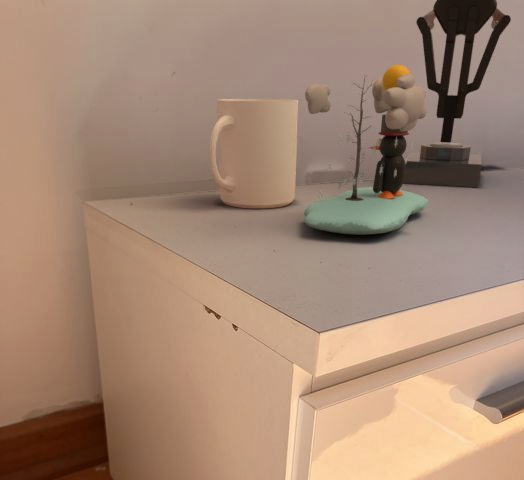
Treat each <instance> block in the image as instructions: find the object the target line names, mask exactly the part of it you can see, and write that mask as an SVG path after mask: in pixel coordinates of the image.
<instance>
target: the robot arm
mask: <svg viewBox="0 0 524 480" xmlns="http://www.w3.org/2000/svg"><path fill="white" fill-rule="evenodd" d="M491 17H492V21H491V24H490V27H491V29H493V30H492V31H491V33H490V36H489V39H488V41H487V43H486V46H485V49H484V51H483V54H482V57H481V59H480V62H479V64H478V67H477V70H476V72H475V75H474V77H473V80H472V82H470V83H469V77H470V70H471V63H472V56H473V50H474V42H475V37H476V35H477V34H478V33H479V32H480V31H482V29H483V27H484V26H485V25H486V23H487V22H488V21H489V20H490V19H491ZM435 19H437V21H438V23H439V25H440V27H441V29H442V31H443V32H444V34H445V36H446V37H445V45H444V53H443V60H442V68H441V75H440V83H439V82H438V81H437V71H436V63H435V62H436V61H435V52H434V51H435V50H434V41H433V33H432V30H434V28H435ZM511 21H512V18H511V16H510V15H509V14H505V13H503V12H502V11H501V10H500V9H499V8H498V1H497V0H436V1H435V3H434V4H433V8H432V10H430V11H429V12H428V13H426V14H425V15H424V16H419V17H418V18H416V21H415V23H416V25H417V27H418V29H419V32H420V34H421V37H422V46H423V56H424V57H423V58H424V66H425V75H426V84H427V85H426V86H427V89H428V90H429V91H432V92H434V93H436V94H437V95H438V99H437V107H436V118H437V119H443V120H442V126H441V127H442V128H441V133H440V134H441V135H440V141H439V142H447V143H451V142H452V140H453V139H452V138H453V132H454V125H455V119H457V120H458V119H459V120H460V119H462V117H463V116H464V111H465V103H466V97H467V95H468V94H470V93H472V92H475V91H478V90H479V89H480V88H481V85H482V82H483V80H484V77H485V75H486V73H487V71H488V70H487V69H488V67H489V64H490V62H491V60H492V57H493V54H494V53H495V52H494V51H495V49H496V47H497V44H498V42H499V39H500V37H501V35H502V34H503V32H505V30H506V28H507V27H508V26H509V24H510V23H511ZM461 35H462V36H464V43H463V50H462V58H461V65H460V71H459V80H458V86H457V94H453V95H452V94H449V90H450V84H451V83H450V82H451V75H452V69H453V62H454V54H455V48H456V40H457V37H458V36H461Z"/></svg>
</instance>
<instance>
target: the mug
mask: <svg viewBox="0 0 524 480" xmlns="http://www.w3.org/2000/svg"><path fill="white" fill-rule="evenodd" d="M216 114H217V117H216V119H217V121H216V123H215V124H214V126H213V127H212V131H211V134H210V137H209V138H210V139H209V146H208V148H209V149H208V159H209V162H208V163H209V167H210V173H211V176H212V179H213V181H214V182H215V184H216V185H217V187H218V191H219V192H218V193H219V199H220V200H221V202H222V203H224V204H225V205H227V206H230V207H234V208H235V207H236V208H239V209H240V208H241V209H255V210H256V209H259V210H260V209H276V208H282V207H285V206H288V205H290V204H292V203H293V201H294V200H295V196H296V195H295V194H296V179H297V178H296V177H297V174H296V173H297V148H298V147H297V146H298V120H299V119H298V116H299V100H298V99H279V98H277V99H276V98H222V99H221V98H220V99H216ZM216 149H217V150H216ZM216 151H217V153H218V154H217V155H216ZM217 156H218V157H217ZM217 159H218V162H217ZM217 163H218V166H217Z"/></svg>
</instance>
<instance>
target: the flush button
mask: <svg viewBox="0 0 524 480" xmlns="http://www.w3.org/2000/svg"><path fill="white" fill-rule="evenodd" d="M430 143H431V146H436V147H461V145H462V143H460V142H452V141H451V143H447V142H440V141H433V142H430Z"/></svg>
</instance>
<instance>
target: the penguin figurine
mask: <svg viewBox="0 0 524 480" xmlns="http://www.w3.org/2000/svg"><path fill="white" fill-rule="evenodd" d="M367 77H368V75H365V77H364V78H363V84H362V85H363V87H361V86H360V84H358V83H357V84H356V83H354V82H350V83H353V85H356V86H357V87H358V88H359V89H362V91H361V94H360V96H361V97H360V107H358V108H356V107H355V106H353V105H348V107H352V108H355V109H356V111H359V112H360V113H359V122H358V121H357V120H355V118H354V116H353V114H352V113H350V114H349V113H347V115H350V116H351V120H352V127H353V129H354V133H355V135H356V142H355V141H354V139H353V138H351V134H350V133H349V131H348V132H347V133H346V135H345V136H346V139H345V141H346V143H347V144H349V141H351V143H352V144H356V156H355V157H356V159H355V170H354V174H353V172H352V171H347V172H348V173H350V174H351V175H352V177H353V178H352V183H351V185H352V188H351V189H349V190H346V191H344V192H343V193H341V194H340V195H338V196H337V195H336V196H330V197H326V198H325V197H324V198H321V199H320V197H322V191H323V190H321V189H320V190H318V194H317V195H318V196H317V197H318V198H319V199H318V200H315V201H313V202H311V203H310V204H309V205H307V207H306V208H305V209H304V212H303V214H304V217H305V218H304V219H303V221H304V224H305V225H306V226H308V227H309V228H312V229H316V230H319V231H324V232H328V233H329V232H330V233H334V234H335V233H336V234H343V235H355V236H356V235H357V236H358V235H359V236H365V235H366V236H367V235H368V236H369V235H378V234H385V233H389V232H393V231H396V230H398V229H400V228H401V227H403V226H404V225H405V224H406V223H407V221H408V218H409V217H410V216H411V215H414V214H417V213H420V212H421V211H423V210H425V209H426V207H427V206H428V204H429V199H427V197H424V196H422V195H420V194H417V193H414V192H411V191H407V190H403V189H401V188H402V187H403V184H404V183H403V181H404V172H405V165H406V163H407V160H406V158H404V156H403V155H404V153H405V151H406V149H407V139H406V138H405V136H408V135H410V132H408V131H411V130H413V129H414V128H415V127H416V126H417V123H418V120H423V119H424V118H425V117H426V116H427V113H428V112H427V108H426V106H425V98H426V96H427V95H426V90H425V89H424V87H422V86H419V85H415V83H416V77H415V76H414V75H412V74H411V72H410V70H409V68H407V67H406V66H405V65H402V64H395V65H394V64H393V65H392V66H389V67H388V69H386V70H385V72H384V74H383V76H380V77H378V78H377V79H376V80H374V83H373V82H371V84H370V85H369V86H367V88H366V90H365V92H364V89H365V84H366V83H365V82H366V78H367ZM373 79H375V77H374V78H373ZM372 83H373V84H372ZM371 86H372V90H371V94H372V97H373V108H374V111H375V113H376V114H381V124H380V132H378V135H380V136H383V137H382V138H378V139H376V141H375V142H374V143H373V144H374V145H372V146H370V147H369V149H371V152H372V154H373V155H374V153H375V152H376V150H377V151H379V152H380V155H382V157H380V160H378V161H377V163H376V168H375V173H374V180H373V185H372V186H368V187H367V186H366V187H365V186H364V187H358V180H360V183H361V185H362V183H364V180H363V179H361V178H364V175H365V173H364V170H362V172H360V165H361V164H362V163H363V161H361V158H365V154H366V153H365V152H364V151H363V153H362V156H361V151H362V134H363V133H364V132H365V131H367V130H368V129H370V128H371V126H369V127H367V128H365V129H363V130H362V125H363V124H362V123H363V120H364V119H365V117H363V116H364V115H363V114H364V109H363V102H366V101H367V99H365V100H364V99H363V96H364V95H365V93H366V92H367V91H368V89H369V88H370V87H371ZM330 95H331V87H330V86H329V85H327V84H320V83H313V84H311V85H309V86H308V87H307V88H306V90H305V92H304V98H305V101H306V102H307V109H308V112H309V114H311V115H316V114H319V113H324V114H325V113H328V112H330V110H331V100H330V98H329V96H330ZM359 108H360V109H359ZM343 113H344V114H346V112H344V111H343ZM384 113H385V114H384ZM371 117H373V114H372V115H369V116H366V119H367V118H371ZM355 122H356V124H355ZM356 125H358V130H357V129H356ZM338 139H339V140H338V142H339V144H342V143H343V136H341V135H339V136H338ZM410 145H411V146H410V148H411V149H410V150H411V151H412V150H413V148H414V141H413V140H412V141H411V143H410ZM365 149H366V148H365V147H364V150H365ZM352 156H353V155H352V154H351V155H350V157H349V164H350V166H351V165H352V163H353V161H354V157H352ZM404 160H406V161H404ZM360 161H361V162H360ZM327 166H328V167H327V168H328V171H330V170H332V163H331V162H329V163H328V165H327ZM343 182H344V184H343ZM343 182H342V181H341V179H340V180H339V182H338V186H337V187H338V190H340V189H341V187H342V184H343V187H346V186H347V184H348V183H347V182H348V179H344V180H343Z"/></svg>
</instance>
